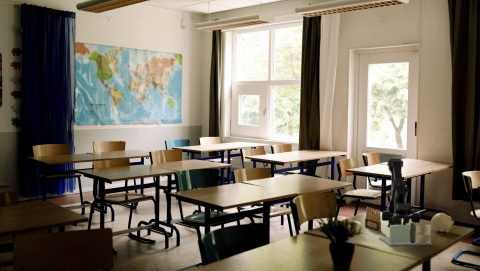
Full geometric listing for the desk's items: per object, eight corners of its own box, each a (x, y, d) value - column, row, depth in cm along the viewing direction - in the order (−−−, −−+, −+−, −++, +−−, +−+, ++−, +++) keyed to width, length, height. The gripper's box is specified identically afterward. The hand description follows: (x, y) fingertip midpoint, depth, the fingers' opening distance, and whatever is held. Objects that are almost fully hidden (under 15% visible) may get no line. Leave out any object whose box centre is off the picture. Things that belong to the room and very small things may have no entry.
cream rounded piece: (457, 232, 257) (458, 213, 256) (442, 235, 251) (443, 215, 251) (441, 228, 266) (442, 209, 265) (427, 230, 260) (427, 212, 259)
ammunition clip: (364, 226, 268) (365, 206, 267) (366, 226, 269) (367, 205, 268) (378, 231, 259) (379, 210, 258) (381, 231, 260) (381, 209, 259)
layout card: (419, 236, 249) (419, 235, 249) (432, 244, 235) (432, 243, 235) (378, 238, 246) (378, 237, 246) (390, 246, 232) (390, 245, 232)
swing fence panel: (408, 242, 236) (408, 224, 236) (409, 242, 235) (410, 225, 235) (389, 242, 235) (389, 225, 235) (390, 243, 234) (390, 225, 233)
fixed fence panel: (428, 241, 238) (429, 222, 238) (430, 243, 236) (431, 223, 235) (409, 242, 237) (409, 223, 236) (411, 243, 235) (411, 224, 234)
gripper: (382, 195, 242) (383, 222, 232) (421, 197, 238) (423, 224, 228) (381, 206, 250) (382, 233, 240) (418, 209, 246) (420, 235, 236)
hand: (401, 231), depth 236 cm, fingers closed
